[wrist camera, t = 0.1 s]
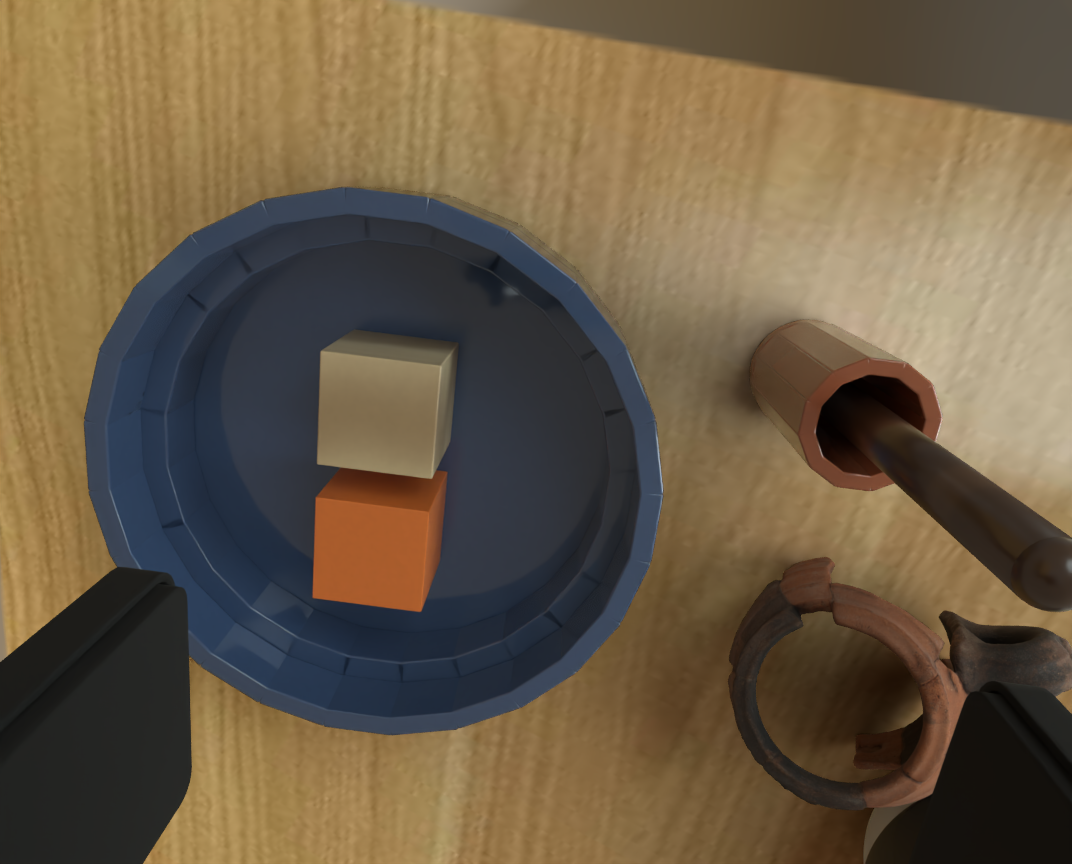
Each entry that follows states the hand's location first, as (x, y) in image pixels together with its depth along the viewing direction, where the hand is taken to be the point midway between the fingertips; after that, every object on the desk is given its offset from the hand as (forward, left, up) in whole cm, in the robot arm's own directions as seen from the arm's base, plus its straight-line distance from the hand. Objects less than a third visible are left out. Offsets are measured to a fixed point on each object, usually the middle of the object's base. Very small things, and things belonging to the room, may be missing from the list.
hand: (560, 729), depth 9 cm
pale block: (+2, -6, -20) cm, 21 cm away
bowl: (+4, -6, -21) cm, 22 cm away
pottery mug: (+10, +14, -21) cm, 27 cm away
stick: (-1, +9, -20) cm, 22 cm away
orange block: (+7, -6, -20) cm, 23 cm away
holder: (-1, +9, -21) cm, 23 cm away
